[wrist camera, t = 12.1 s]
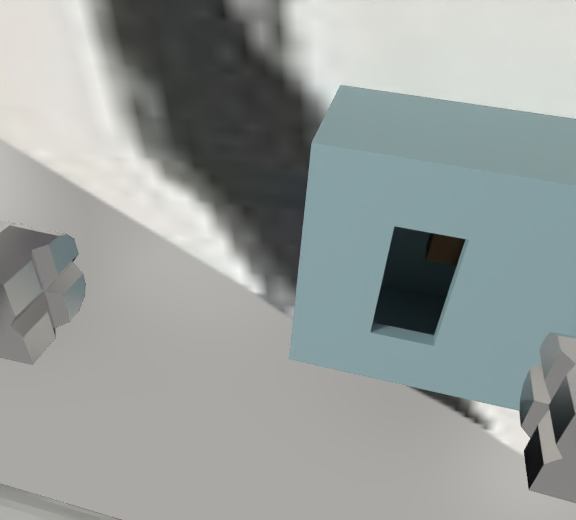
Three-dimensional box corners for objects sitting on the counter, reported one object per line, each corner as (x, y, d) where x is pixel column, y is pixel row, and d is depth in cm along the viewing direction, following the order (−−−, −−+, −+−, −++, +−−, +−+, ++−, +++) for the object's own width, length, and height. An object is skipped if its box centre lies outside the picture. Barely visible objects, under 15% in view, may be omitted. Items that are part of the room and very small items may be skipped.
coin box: (663, 131, 32) (738, 211, 24) (563, 324, 41) (593, 427, 33) (340, 85, 35) (311, 142, 27) (315, 274, 44) (289, 359, 36)
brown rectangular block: (443, 185, 36) (510, 197, 35) (426, 245, 39) (488, 256, 38) (443, 199, 34) (514, 211, 34) (426, 260, 37) (491, 272, 37)
